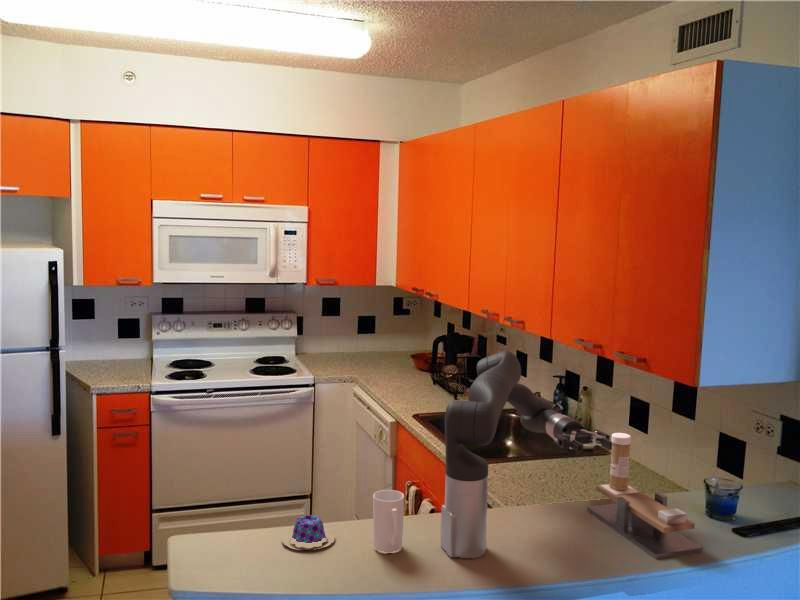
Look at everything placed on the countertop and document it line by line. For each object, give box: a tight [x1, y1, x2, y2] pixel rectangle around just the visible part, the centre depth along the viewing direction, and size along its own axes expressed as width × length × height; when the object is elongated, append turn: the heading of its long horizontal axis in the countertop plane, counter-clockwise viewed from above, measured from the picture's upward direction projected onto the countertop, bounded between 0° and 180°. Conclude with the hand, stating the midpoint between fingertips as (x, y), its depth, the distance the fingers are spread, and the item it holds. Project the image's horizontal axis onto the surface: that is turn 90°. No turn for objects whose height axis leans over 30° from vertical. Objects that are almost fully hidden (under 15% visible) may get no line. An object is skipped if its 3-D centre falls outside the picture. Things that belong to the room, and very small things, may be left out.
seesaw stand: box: [586, 492, 703, 560], centre depth 169 cm, size 12×27×8 cm, turn 18°
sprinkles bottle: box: [608, 432, 632, 490], centre depth 177 cm, size 5×5×14 cm
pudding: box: [292, 514, 326, 543], centre depth 161 cm, size 12×12×5 cm
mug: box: [372, 489, 405, 552], centre depth 156 cm, size 10×7×12 cm, turn 16°
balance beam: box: [595, 483, 695, 533], centre depth 169 cm, size 8×26×3 cm, turn 18°
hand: (596, 447), depth 187 cm, fingers open, 8 cm apart
